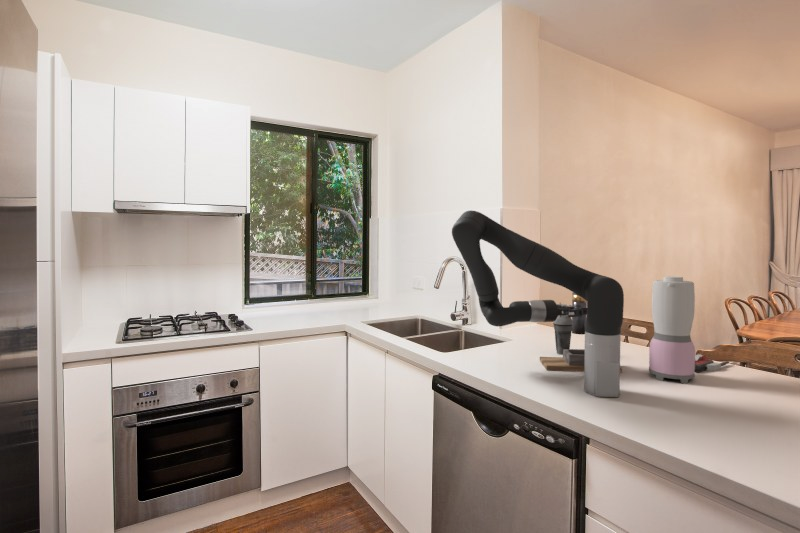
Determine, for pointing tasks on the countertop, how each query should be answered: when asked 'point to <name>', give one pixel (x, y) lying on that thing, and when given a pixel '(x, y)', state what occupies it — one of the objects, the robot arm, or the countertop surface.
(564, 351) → the wood and grey block
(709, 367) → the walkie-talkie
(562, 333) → the beverage cup
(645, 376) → the countertop surface
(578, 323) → the cell
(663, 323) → the blender
